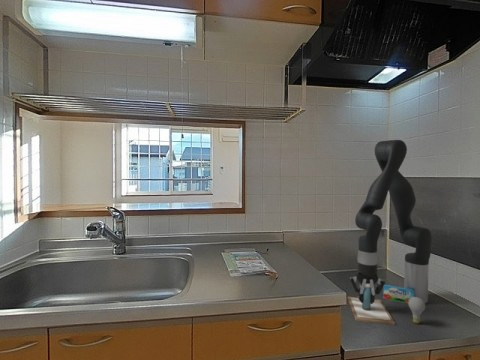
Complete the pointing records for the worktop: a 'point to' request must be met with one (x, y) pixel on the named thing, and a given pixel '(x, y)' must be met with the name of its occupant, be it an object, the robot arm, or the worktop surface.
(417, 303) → the light bulb
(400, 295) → the yogurt
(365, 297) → the bottle
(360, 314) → the clipboard
